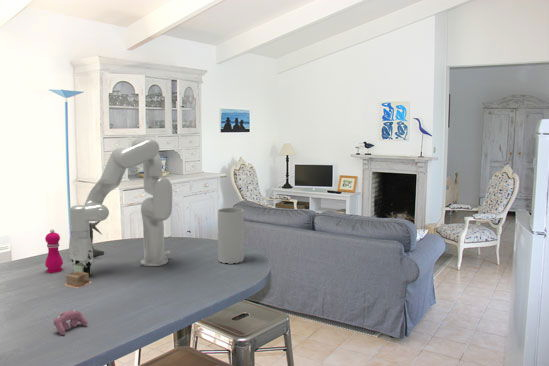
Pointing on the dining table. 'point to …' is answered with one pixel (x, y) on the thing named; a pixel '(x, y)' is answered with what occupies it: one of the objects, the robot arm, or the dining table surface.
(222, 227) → the cylinder vase
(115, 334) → the dining table surface
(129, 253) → the dining table surface
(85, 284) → the cream wavy board
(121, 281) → the dining table surface
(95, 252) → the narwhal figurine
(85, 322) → the video game controller
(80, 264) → the sage block
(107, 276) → the dining table surface
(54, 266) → the pepper mill
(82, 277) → the walnut base block
